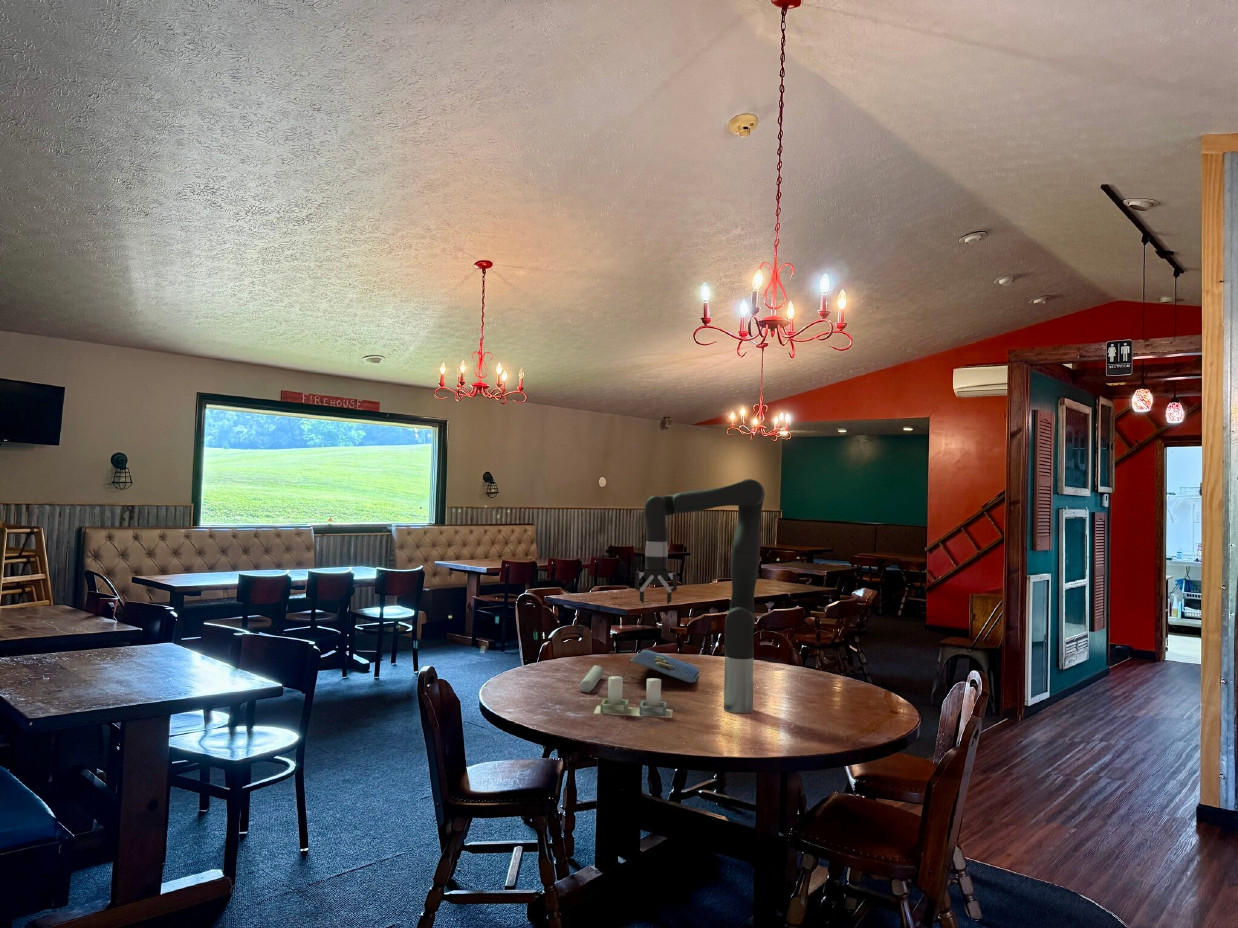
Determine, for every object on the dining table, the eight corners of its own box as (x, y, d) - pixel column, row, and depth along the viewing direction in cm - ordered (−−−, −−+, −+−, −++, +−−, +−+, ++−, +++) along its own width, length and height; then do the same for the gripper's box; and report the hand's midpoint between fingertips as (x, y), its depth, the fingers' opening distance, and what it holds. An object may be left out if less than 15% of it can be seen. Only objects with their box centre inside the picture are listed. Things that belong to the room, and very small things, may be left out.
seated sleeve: (660, 710, 253) (661, 678, 253) (660, 714, 248) (661, 681, 249) (645, 710, 253) (646, 677, 254) (645, 713, 248) (646, 680, 249)
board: (672, 714, 255) (672, 701, 255) (671, 722, 245) (672, 709, 245) (597, 710, 257) (597, 697, 257) (593, 718, 247) (593, 704, 247)
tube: (595, 682, 280) (606, 668, 304) (581, 676, 280) (593, 662, 305) (589, 697, 280) (601, 681, 304) (575, 691, 281) (588, 675, 305)
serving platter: (632, 669, 337) (640, 642, 338) (694, 692, 333) (703, 665, 334) (616, 685, 293) (626, 654, 294) (688, 711, 289) (698, 680, 289)
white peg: (622, 708, 254) (623, 676, 254) (621, 712, 249) (622, 679, 250) (608, 707, 254) (609, 675, 255) (606, 711, 250) (607, 678, 250)
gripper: (634, 555, 270) (633, 603, 269) (677, 556, 269) (676, 605, 268) (636, 553, 278) (635, 601, 277) (677, 554, 276) (676, 602, 275)
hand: (655, 603), depth 272 cm, fingers open, 8 cm apart
